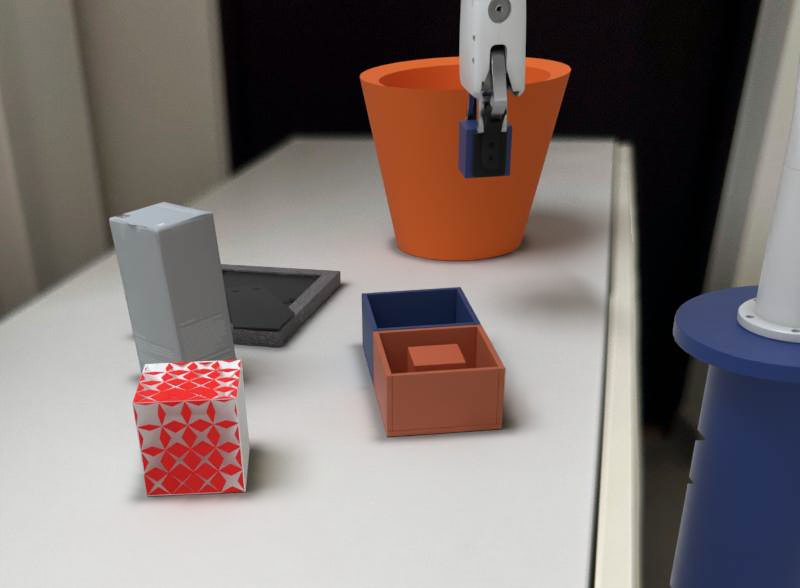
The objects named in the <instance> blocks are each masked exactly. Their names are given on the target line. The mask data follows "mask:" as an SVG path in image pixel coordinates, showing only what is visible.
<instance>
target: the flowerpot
mask: <svg viewBox="0 0 800 588" xmlns="http://www.w3.org/2000/svg"><path fill="white" fill-rule="evenodd" d="M571 71H572V68H571V67H570V65H568V64H566V63H565V62H564V63H563V62H561V61H556V60H551V59H546V58H538V57H537V58H536V57H527V56H525V89H524V92H523V93H522V94H521V95H520V96H518V97H516V96H514V95H513V94H512V93H510V92H509V91H508V90H507V122H508V123H509V124H510V125H511V126H512V127H513V128H512V147H511V165H510V176H497V177H481V178H465V177H464V176H463V175H462V173H461V172H460V170H459V169H458V156H459V121H463V120H466V104H467V90H466V89H465V88H464V87H463V86H462V84H461V82H460V69H459V56H447V57H446V56H445V57H433V58H421V59H413V60H405V61H404V60H403V61H398V62H393V63H388V64H383V65H382V64H381V65H379V66H375V67H372V68H369V69H366V70H365V71H363V72H361V73H360V74H359V80H360V85H361V89H362V94H363V98H364V102H365V107H366V111H367V116H368V121H369V126H370V129H371V134H372V139H373V143H374V147H375V152H376V157H377V160H378V165H379V170H380V175H381V179H382V183H383V184H382V185H383V188H384V193H385V197H386V202H387V206H388V210H389V214H390V219H391V224H392V228H393V232H394V237H395V241H396V245H397V247H398V249H399V250H401V251H402V252H404V253H406V254H407V255H410V256H413V257H418V258H423V259H428V260H438V261H476V260H484V259H490V258H496V257H499V256H503V255H506V254H509V253H512V252H513V251H515V250H517V249H518V248H520V246H521V244H522V241H523V238H524V234H525V231H526V227H527V223H528V221H529V217H530V214H531V211H532V206H533V202H534V200H535V196H536V192H537V189H538V186H539V182H540V179H541V175H542V172H543V168H544V165H545V162H546V158H547V155H548V151H549V148H550V145H551V141H552V137H553V134H554V130H555V126H556V123H557V119H558V116H559V112H560V110H561V107H562V102H563V99H564V96H565V92H566V88H567V86H568V82H569V78H570V76H571V75H570V74H571Z"/></svg>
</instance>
